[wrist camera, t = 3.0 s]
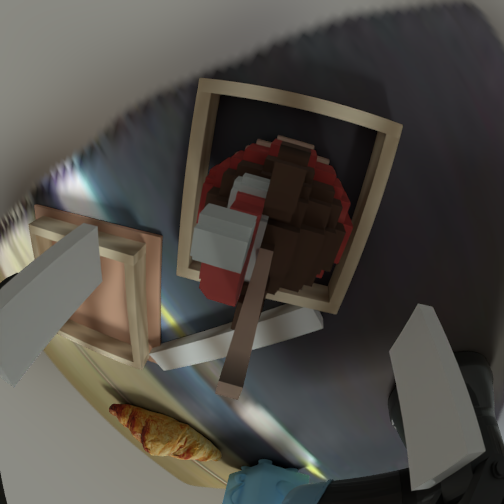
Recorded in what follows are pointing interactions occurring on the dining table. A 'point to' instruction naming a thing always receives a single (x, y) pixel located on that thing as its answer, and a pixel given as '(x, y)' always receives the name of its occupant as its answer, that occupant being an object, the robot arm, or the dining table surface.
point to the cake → (266, 235)
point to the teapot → (262, 484)
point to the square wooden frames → (150, 257)
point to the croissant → (165, 434)
